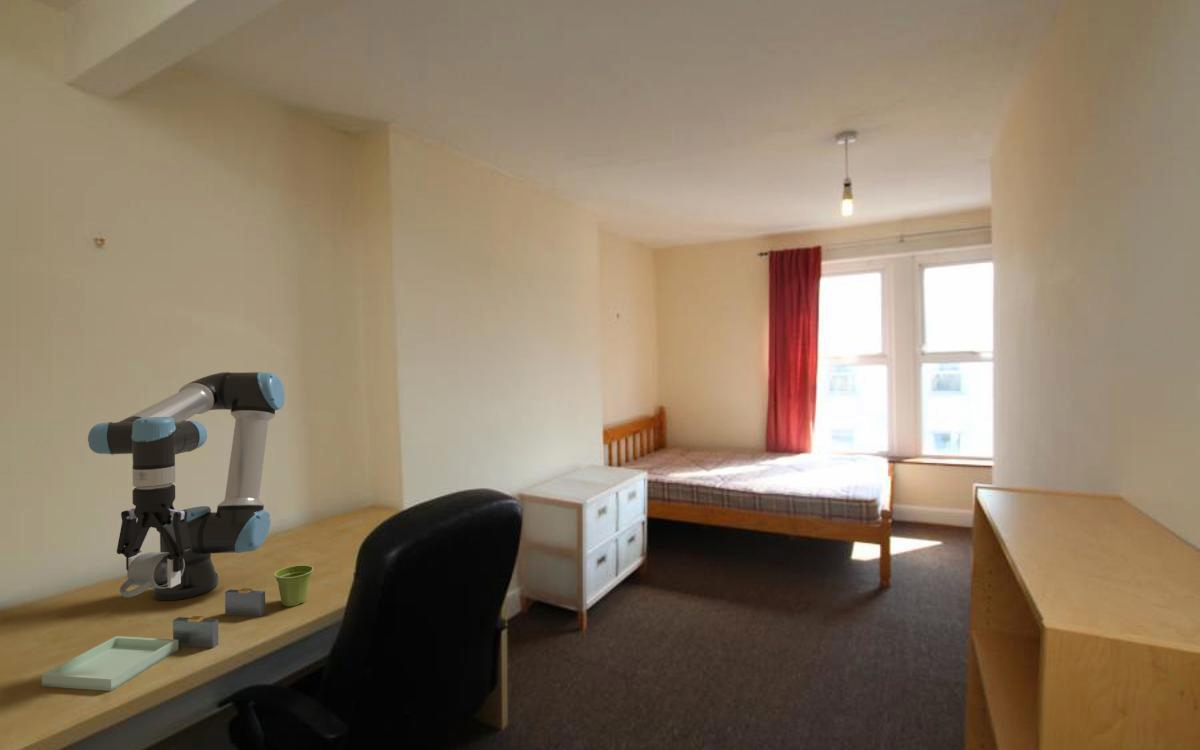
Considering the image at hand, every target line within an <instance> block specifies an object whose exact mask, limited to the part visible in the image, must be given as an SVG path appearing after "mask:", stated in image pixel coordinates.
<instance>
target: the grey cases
mask: <svg viewBox="0 0 1200 750" xmlns="http://www.w3.org/2000/svg"><path fill="white" fill-rule="evenodd" d="M224 604H225V605H224V607H225V608H224V609H225V610H224V611H225V613H224V614H225V616H243V617H245V616H246V617H263V616H264V615H266V591H265V590H253V588H246V587H243V588H241V589H228V590H227V591H224ZM172 639H174V640H178V647H188V648H189V647H190V648H191V647H192V648H205V649H214V648H215V647H218V645H219V619H217V618H204V616H202V615H193V616H190V617H182V616H179V617H177V618H175V619H173V620H172Z"/></svg>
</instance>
